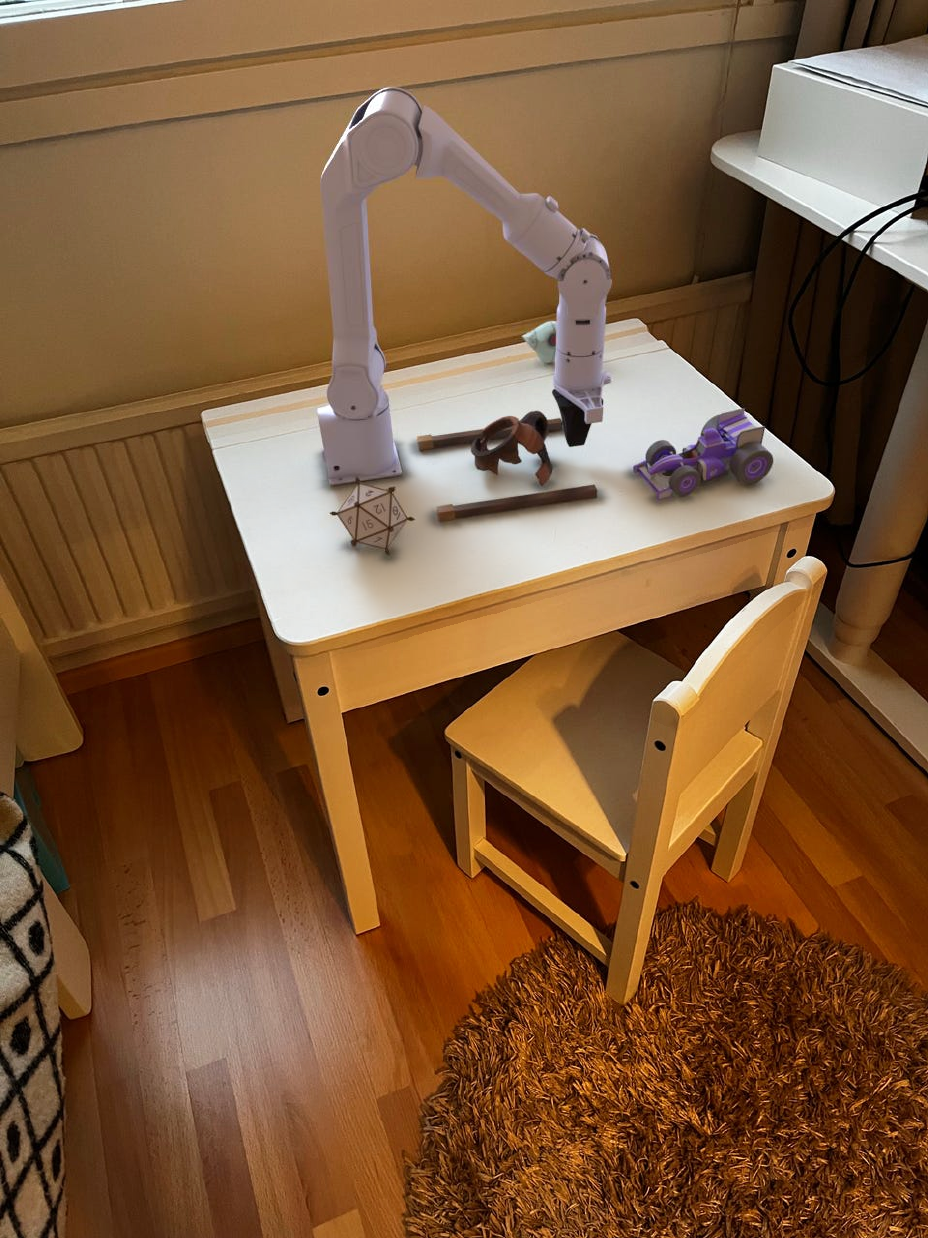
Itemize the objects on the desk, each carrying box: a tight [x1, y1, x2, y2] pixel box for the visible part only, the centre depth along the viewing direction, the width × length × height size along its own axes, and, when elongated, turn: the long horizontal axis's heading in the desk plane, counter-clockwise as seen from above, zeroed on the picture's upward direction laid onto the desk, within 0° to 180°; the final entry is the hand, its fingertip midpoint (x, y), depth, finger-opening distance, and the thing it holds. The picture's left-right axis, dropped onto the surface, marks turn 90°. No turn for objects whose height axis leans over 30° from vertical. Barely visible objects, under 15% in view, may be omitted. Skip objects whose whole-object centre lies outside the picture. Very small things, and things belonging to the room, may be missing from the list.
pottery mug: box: [470, 410, 554, 487], centre depth 118 cm, size 12×10×8 cm
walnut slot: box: [416, 417, 598, 523], centre depth 118 cm, size 20×18×1 cm
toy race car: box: [632, 407, 774, 501], centre depth 114 cm, size 10×15×6 cm, turn 109°
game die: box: [329, 477, 416, 556], centre depth 106 cm, size 9×8×10 cm
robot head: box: [521, 320, 557, 364], centre depth 137 cm, size 8×4×7 cm, turn 109°
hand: (575, 443), depth 118 cm, fingers closed
